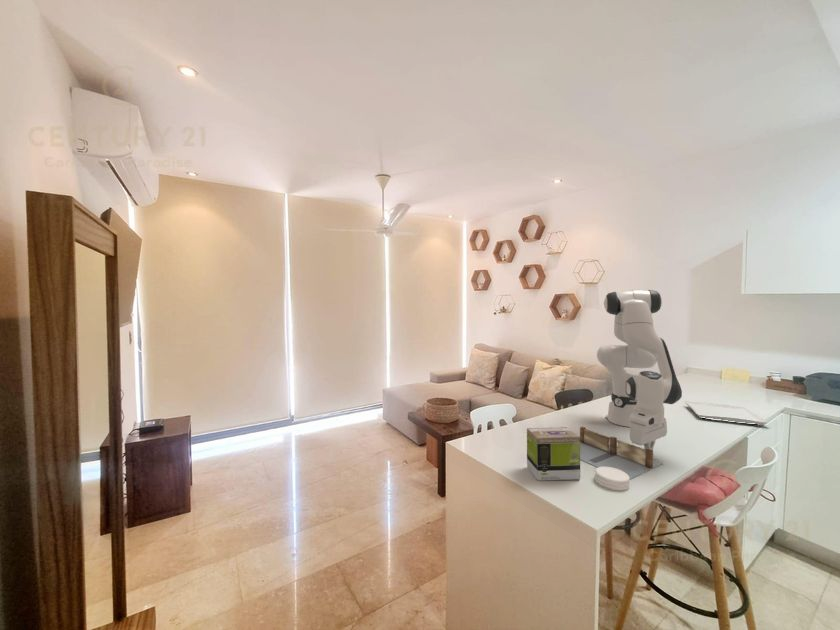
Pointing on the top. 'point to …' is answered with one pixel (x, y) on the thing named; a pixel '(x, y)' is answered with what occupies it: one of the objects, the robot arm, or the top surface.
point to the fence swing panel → (635, 453)
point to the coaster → (612, 478)
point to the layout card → (612, 460)
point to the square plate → (760, 420)
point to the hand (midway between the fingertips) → (648, 451)
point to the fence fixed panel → (598, 440)
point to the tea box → (553, 453)
